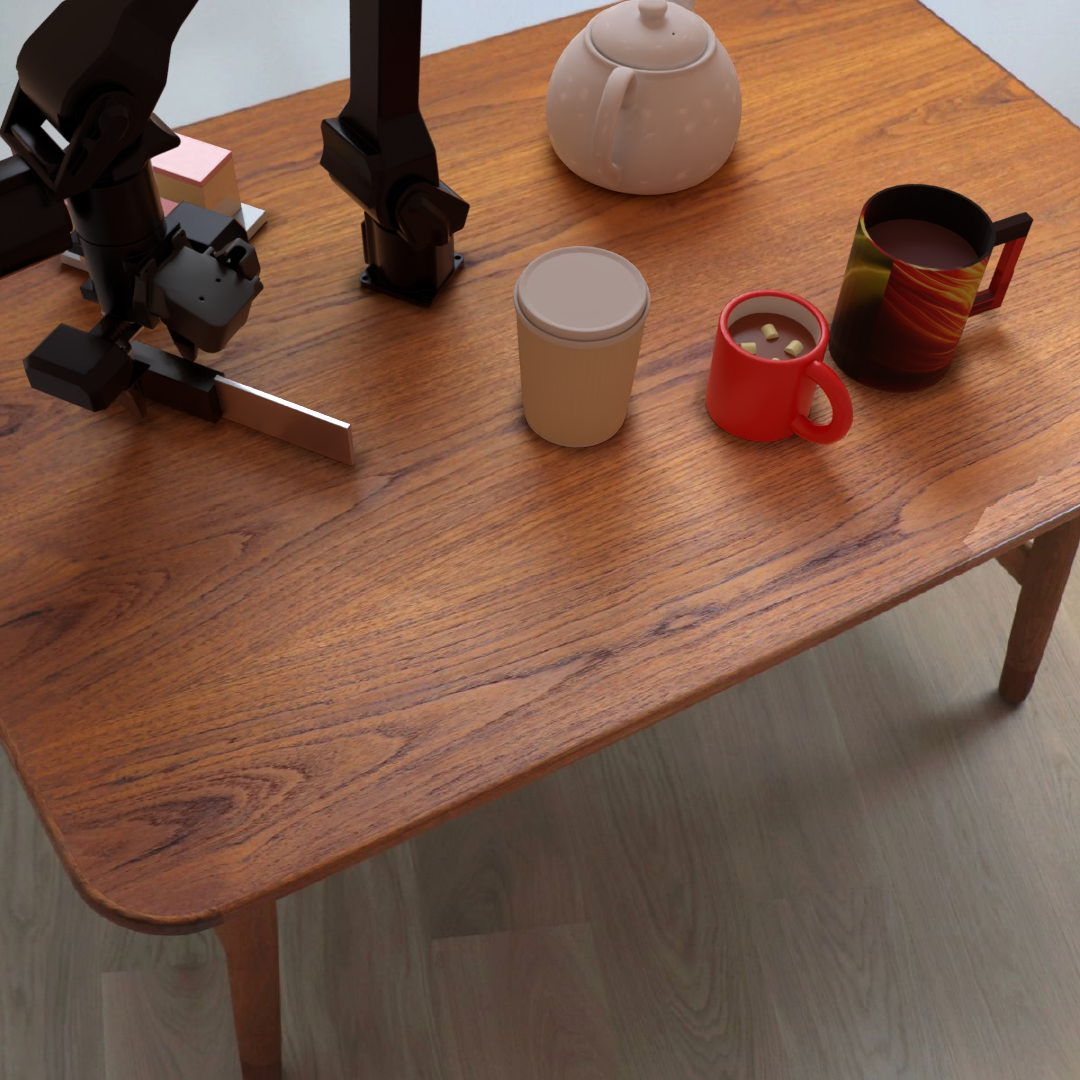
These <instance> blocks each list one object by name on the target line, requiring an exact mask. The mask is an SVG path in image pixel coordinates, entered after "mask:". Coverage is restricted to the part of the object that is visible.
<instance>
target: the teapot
mask: <svg viewBox="0 0 1080 1080" xmlns="http://www.w3.org/2000/svg"><path fill="white" fill-rule="evenodd" d="M695 8H696V7H695V0H626V1H625V0H624V1H622V2H620V3H617V4H615V5H613V6H610V7H608V8H606V9H604V10H602V11H600V12H598V13H597V14H596V15H595V16H593V17H592V18H591V19H590V20H589V22H588V23H587V25H586V26H585V27H584V28H582V30H580V31H579V32H578V33H577V34H576V35H575V36H574V37H573V38H572V40H571V41H570V42H569V43H568V44H567V46H566V47H565V48H564V50H563V51H562V53H561V55H560V56H559V58H558V60H557V61H556V63H555V66H554V68H553V71H552V73H551V76H550V78H549V83H548V86H547V91H546V98H545V99H546V100H545V124H546V130H547V135H548V139H549V142H550V144H551V146H552V149H553V151H554V152H555V154H556V155H557V157H558V158H559V160H560V161H561V162H562V163H563V164H564V165H565V166H566V167H567V168H568V169H569V170H570V171H571V172H573V173H574V174H575V175H576V176H578V177H580V178H581V179H583V180H584V181H587V182H588V183H591V184H593V185H595V186H597V187H602V188H604V189H607V190H610V191H614V192H619V193H624V194H631V195H641V196H642V195H645V196H646V195H647V196H649V195H650V196H651V195H664V194H672V193H677V192H681V191H684V190H687V189H689V188H693V187H696V186H697V185H699V184H702V183H703V182H705V181H706V180H708V179H709V178H711V177H712V176H713V175H714V174H716V173H717V172H718V171H719V170H720V169H721V168H722V167H723V165H724V164H725V163H726V162H727V160H728V158H729V157H730V156H731V153H732V152H733V149H734V147H735V145H736V141H737V139H738V135H739V132H740V128H741V122H742V114H743V113H742V112H743V111H742V110H743V99H742V97H743V95H742V90H741V84H740V79H739V77H738V73H737V70H736V67H735V65H734V63H733V60H732V59H731V57H730V55H729V53H728V52H727V49H726V48H725V47H724V45H723V44H722V43H721V41H720V40H719V38H717V36H716V34H715V31H714V30H713V28H712V26H711V25H709V23H708V22H707V21H706V20H704V18H702V17H701V16H700V15H699V14H697V13H696V11H695Z"/></svg>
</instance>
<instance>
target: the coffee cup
mask: <svg viewBox="0 0 1080 1080" xmlns="http://www.w3.org/2000/svg"><path fill="white" fill-rule="evenodd" d="M651 302H652V301H651V292H650V289H649V286H648V284H647V282H646V281H645V278H644V276H643V274H642V273H641V272H640V270H639V269H638V268H637V266H635V264H633V263H632V262H631V261H630V260H628V259H627V258H625V257H624V256H621V255H620V254H618V253H616V252H613V251H610V250H608V249H605V248H600V247H595V246H587V245H586V246H584V245H573V246H565V247H559V248H556V249H552V250H549V251H547V252H545V253H543V254H541V255H539V256H538V257H536V258H534V259H532V261H531V262H530V263H529V264H527V265H526V267H525V268H524V270H523V272H521V274H520V275H519V277H518V279H517V280H516V283H515V286H514V290H513V306H514V311H515V314H516V315H515V316H516V331H517V334H516V335H517V348H518V360H519V372H520V373H519V374H520V385H521V399H522V400H521V401H522V407H523V415H524V418H525V420H526V422H527V425H528V426H529V428H530V429H531V430H532V431H533V432H534V433H535V434H537V435H538V436H539V437H540V438H542V439H544V440H545V441H547V442H549V443H552V444H554V445H557V446H562V447H565V448H586V447H592V446H595V445H599V444H601V443H604V442H605V441H607V440H609V439H611V438H612V437H613V436H615V434H617V432H618V431H619V430H620V429H621V427H622V426H623V424H624V422H625V419H626V416H627V411H628V408H629V405H630V404H629V403H630V399H631V395H632V390H633V385H634V380H635V375H636V370H637V365H638V360H639V356H640V352H641V346H642V341H643V337H644V330H645V325H646V320H647V319H648V316H649V312H650V310H651Z"/></svg>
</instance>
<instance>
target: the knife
mask: <svg viewBox="0 0 1080 1080" xmlns="http://www.w3.org/2000/svg"><path fill="white" fill-rule="evenodd" d="M130 344H131V346H132V350H133V351H132V354H133V358H134V359H136V360H139V361H142V362H144V363H147V364H150V365H151V366H150V368H149V369H148V370H147V371H146V372H145V373H144V374H143V375H142V377H141V378H140V380H141V384H142V388H143V392H144V396H145V399H148V400H151V401H152V402H155V403H159V404H161V405H164V406H167V407H168V408H172V409H174V410H176V411H179V412H182V413H185V414H188V415H190V416H193V417H195V418H197V419H201V420H203V421H205V422H208V423H211V424H214V425H216V424H218V422H220V419H221V418H225V419H227V420H229V421H232V422H234V423H237V424H240V425H243V426H245V427H247V428H250V429H253V430H255V431H258V432H261V433H263V434H266V435H268V436H271V437H273V438H276V439H279V440H281V441H284V442H287V443H289V444H293V445H294V446H297V447H301V448H303V449H306V450H308V451H311V452H313V453H317V454H319V455H322V456H323V457H327V458H330V459H332V460H334V461H337V462H340V463H342V464H345V465H347V466H351V467H354V464H355V463H356V456H355V447H354V439H353V431H352V424H350V423H348V422H345V421H343V420H340V419H337V418H335V417H331V416H329V415H326V414H325V413H322V412H318V411H316V410H313V409H311V408H308V407H305V406H302V405H299V404H297V403H294V402H291V401H290V400H286V399H284V398H281V397H279V396H275V395H273V394H270V393H267V392H265V391H262V390H259V389H256V388H254V387H251V386H248V385H247V384H244V383H240V382H238V381H235V380H232V379H229V378H227V377H226V375H225V372H223V371H219V370H217V369H214V368H212V367H209V366H206V365H203V364H202V363H198V362H195V361H190V360H188V359H185V358H183V357H182V356H179V355H176V354H174V353H171V352H168V351H166V350H163V349H161V348H158V347H155V346H153V345H150V344H147V343H144V342H141V341H139V340H136V339H134V340H133V341H132V342H131V343H130Z"/></svg>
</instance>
